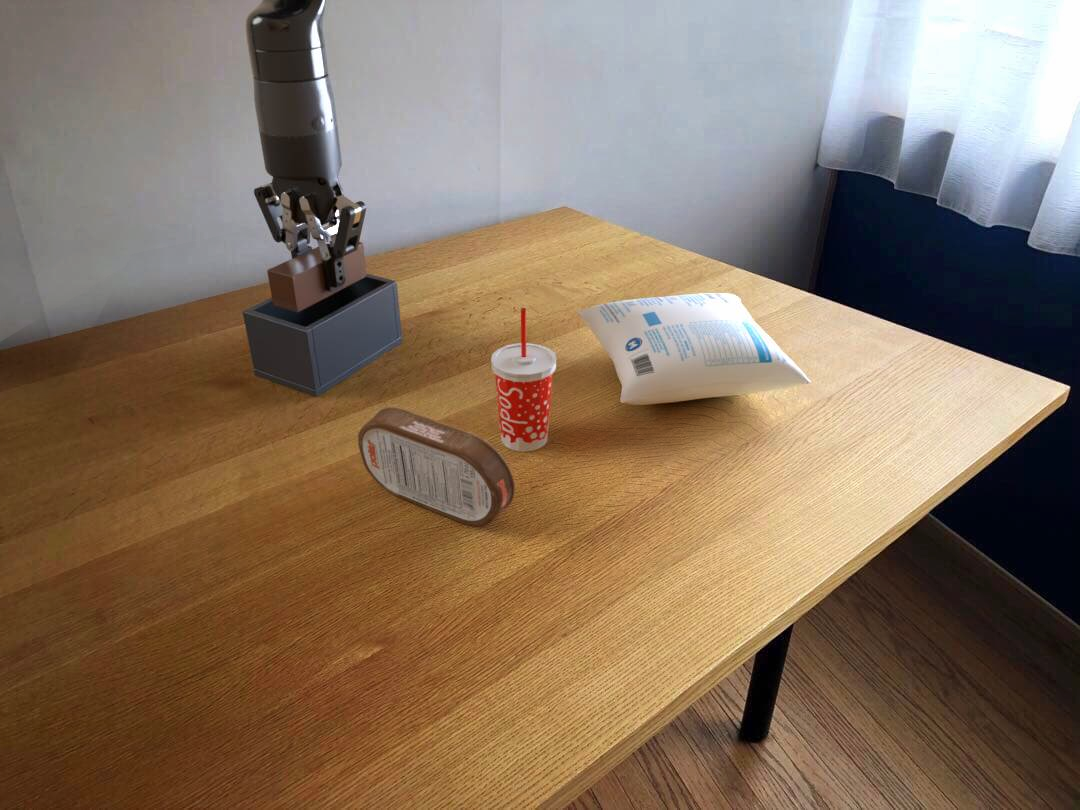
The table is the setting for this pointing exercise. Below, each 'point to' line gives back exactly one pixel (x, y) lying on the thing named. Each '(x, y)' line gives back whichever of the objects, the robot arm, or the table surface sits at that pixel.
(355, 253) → the brown block
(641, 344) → the pouch
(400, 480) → the tin
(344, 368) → the bin
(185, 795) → the table surface
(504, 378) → the beverage cup
